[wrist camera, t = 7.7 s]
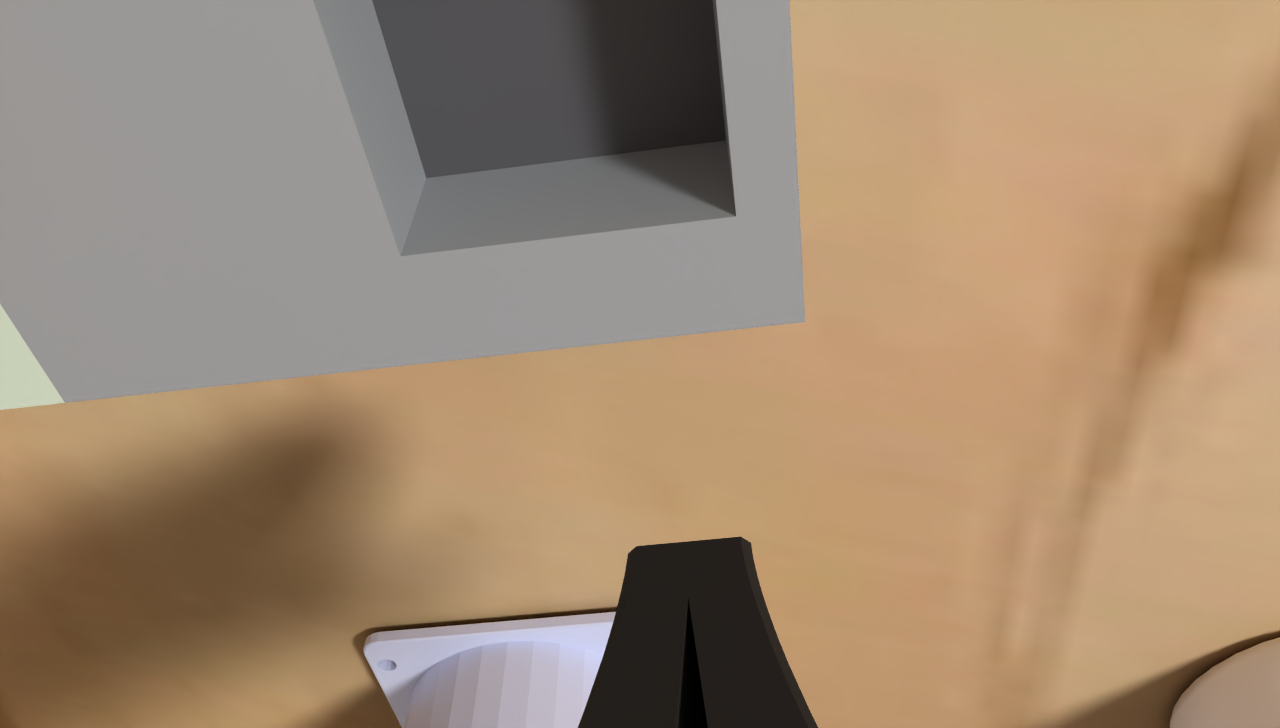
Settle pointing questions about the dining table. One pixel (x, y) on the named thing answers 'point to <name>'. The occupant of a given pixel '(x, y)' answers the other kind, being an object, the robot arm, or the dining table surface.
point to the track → (382, 184)
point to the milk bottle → (1235, 692)
